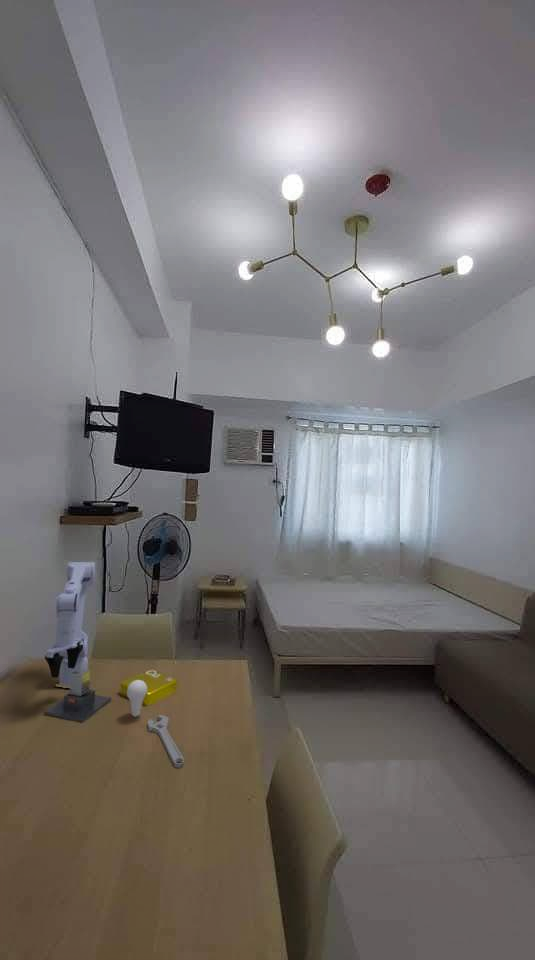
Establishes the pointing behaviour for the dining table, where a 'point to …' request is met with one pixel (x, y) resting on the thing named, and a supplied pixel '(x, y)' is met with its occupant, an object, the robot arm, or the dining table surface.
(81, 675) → the stand column
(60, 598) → the robot arm
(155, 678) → the element tile
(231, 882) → the dining table surface
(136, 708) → the lightbulb
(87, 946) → the dining table surface
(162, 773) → the dining table surface
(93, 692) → the stand base
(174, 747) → the adjustable wrench
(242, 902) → the dining table surface
